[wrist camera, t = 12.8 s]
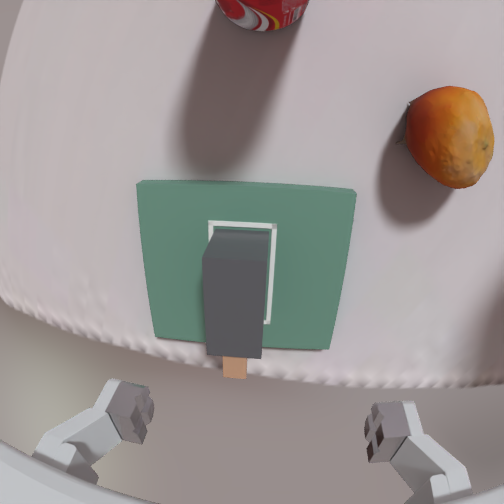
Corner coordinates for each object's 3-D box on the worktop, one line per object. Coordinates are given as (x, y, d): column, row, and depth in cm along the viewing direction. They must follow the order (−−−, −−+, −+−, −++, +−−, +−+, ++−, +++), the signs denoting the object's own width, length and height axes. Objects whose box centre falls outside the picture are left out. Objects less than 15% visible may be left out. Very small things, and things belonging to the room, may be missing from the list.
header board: (352, 189, 26) (369, 208, 21) (327, 340, 33) (333, 377, 28) (142, 180, 27) (115, 197, 22) (159, 328, 34) (143, 362, 29)
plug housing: (269, 231, 27) (267, 261, 22) (262, 343, 32) (259, 383, 27) (215, 228, 27) (201, 257, 22) (218, 339, 32) (209, 378, 27)
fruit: (382, 69, 20) (473, 78, 14) (433, 91, 24) (508, 106, 18) (370, 167, 24) (455, 198, 17) (422, 171, 27) (493, 198, 21)
